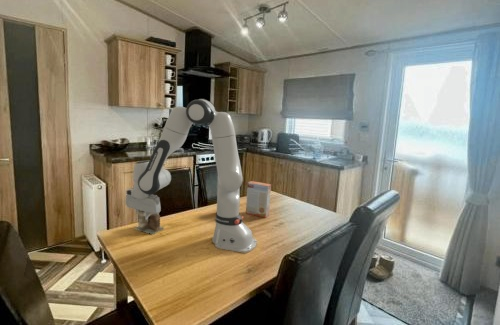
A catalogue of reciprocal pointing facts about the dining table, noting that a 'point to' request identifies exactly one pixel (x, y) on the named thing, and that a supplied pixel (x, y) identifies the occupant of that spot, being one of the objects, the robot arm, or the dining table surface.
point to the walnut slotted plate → (151, 225)
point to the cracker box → (258, 199)
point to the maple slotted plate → (142, 218)
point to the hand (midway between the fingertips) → (143, 218)
